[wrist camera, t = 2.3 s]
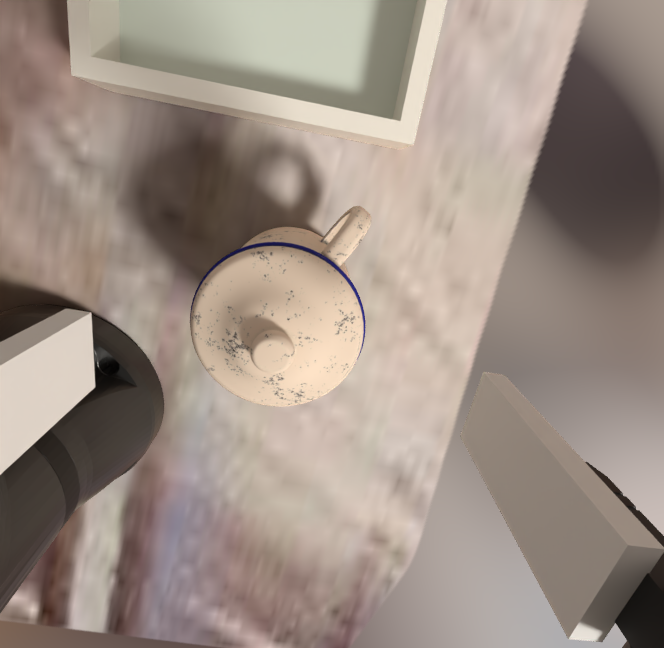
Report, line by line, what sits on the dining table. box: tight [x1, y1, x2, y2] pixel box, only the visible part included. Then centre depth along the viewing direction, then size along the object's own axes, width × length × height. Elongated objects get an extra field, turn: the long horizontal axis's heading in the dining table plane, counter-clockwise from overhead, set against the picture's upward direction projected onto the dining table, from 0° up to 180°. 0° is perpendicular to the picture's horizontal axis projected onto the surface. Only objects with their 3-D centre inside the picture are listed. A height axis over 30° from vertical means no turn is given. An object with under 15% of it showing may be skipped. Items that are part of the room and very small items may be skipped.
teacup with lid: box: [190, 206, 371, 406], centre depth 22 cm, size 12×9×12 cm
